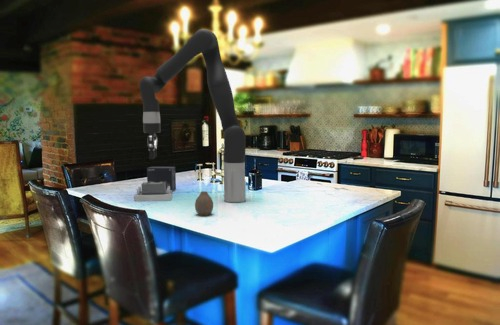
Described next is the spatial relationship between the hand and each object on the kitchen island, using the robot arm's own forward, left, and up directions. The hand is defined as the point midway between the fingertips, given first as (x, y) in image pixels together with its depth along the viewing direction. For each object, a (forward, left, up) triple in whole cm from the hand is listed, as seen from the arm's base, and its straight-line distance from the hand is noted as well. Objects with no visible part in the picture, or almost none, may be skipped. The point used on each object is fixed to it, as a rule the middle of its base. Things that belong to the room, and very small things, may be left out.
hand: (153, 158), depth 181 cm
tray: (0, 0, -18) cm, 18 cm away
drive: (0, 0, -17) cm, 17 cm away
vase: (-22, +34, -19) cm, 45 cm away
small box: (-2, -20, -19) cm, 27 cm away
